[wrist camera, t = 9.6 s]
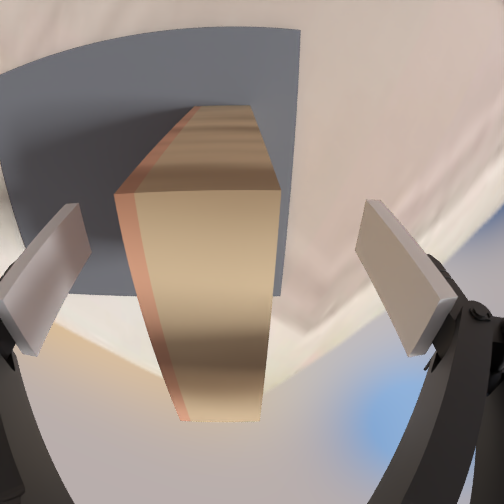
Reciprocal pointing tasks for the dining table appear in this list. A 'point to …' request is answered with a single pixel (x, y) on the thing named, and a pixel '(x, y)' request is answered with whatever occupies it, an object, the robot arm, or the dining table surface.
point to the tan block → (206, 259)
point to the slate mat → (135, 125)
